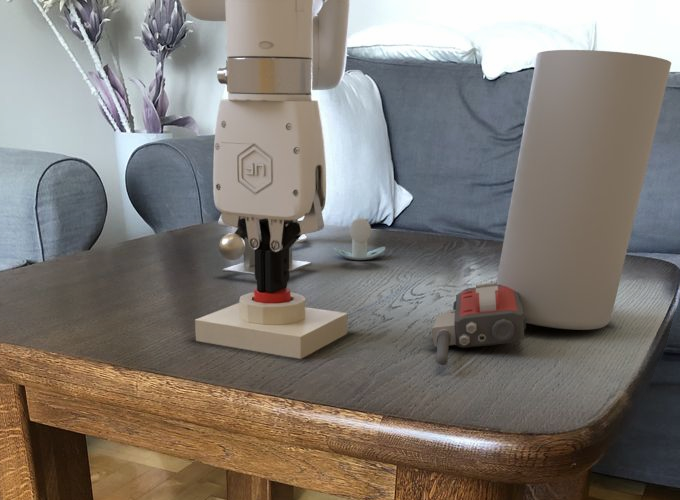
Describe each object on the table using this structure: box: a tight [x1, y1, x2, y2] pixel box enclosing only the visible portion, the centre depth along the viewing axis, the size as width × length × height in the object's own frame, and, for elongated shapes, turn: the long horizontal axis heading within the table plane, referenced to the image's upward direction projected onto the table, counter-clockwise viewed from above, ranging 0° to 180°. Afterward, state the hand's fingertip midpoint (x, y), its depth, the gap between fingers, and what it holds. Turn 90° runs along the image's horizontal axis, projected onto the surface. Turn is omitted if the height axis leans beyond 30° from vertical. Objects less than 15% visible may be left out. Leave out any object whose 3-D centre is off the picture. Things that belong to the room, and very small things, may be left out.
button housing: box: [194, 291, 348, 360], centre depth 82 cm, size 12×10×4 cm
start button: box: [253, 286, 291, 304], centre depth 81 cm, size 4×4×2 cm
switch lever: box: [218, 228, 246, 261], centre depth 104 cm, size 13×3×3 cm, turn 152°
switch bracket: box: [222, 219, 312, 276], centre depth 108 cm, size 10×8×12 cm
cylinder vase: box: [496, 49, 672, 331], centre depth 84 cm, size 12×12×25 cm
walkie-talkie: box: [431, 281, 527, 366], centre depth 80 cm, size 9×4×20 cm
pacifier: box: [333, 217, 386, 261], centre depth 115 cm, size 7×6×6 cm
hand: (272, 289), depth 81 cm, fingers closed
